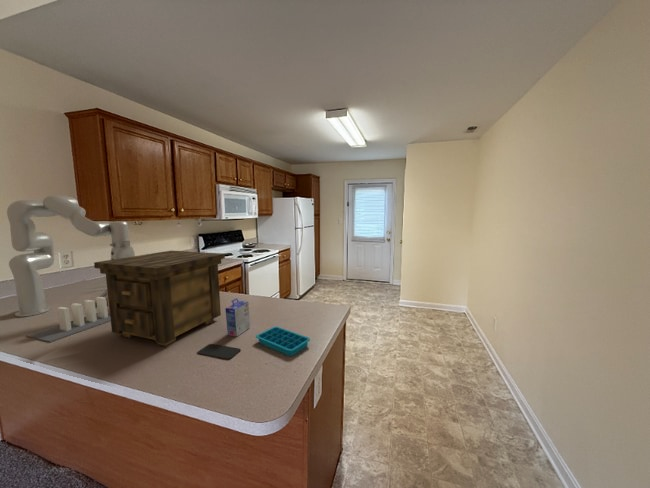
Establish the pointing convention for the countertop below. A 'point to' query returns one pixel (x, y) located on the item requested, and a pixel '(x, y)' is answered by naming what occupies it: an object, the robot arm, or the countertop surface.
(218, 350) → the phone
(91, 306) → the ivory tile
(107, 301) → the terracotta tile
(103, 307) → the ivory tile
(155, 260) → the wooden nightstand
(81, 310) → the ivory tile
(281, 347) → the ice cube tray
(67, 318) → the ivory tile
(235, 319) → the ink cartridge box
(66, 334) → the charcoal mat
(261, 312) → the countertop surface
